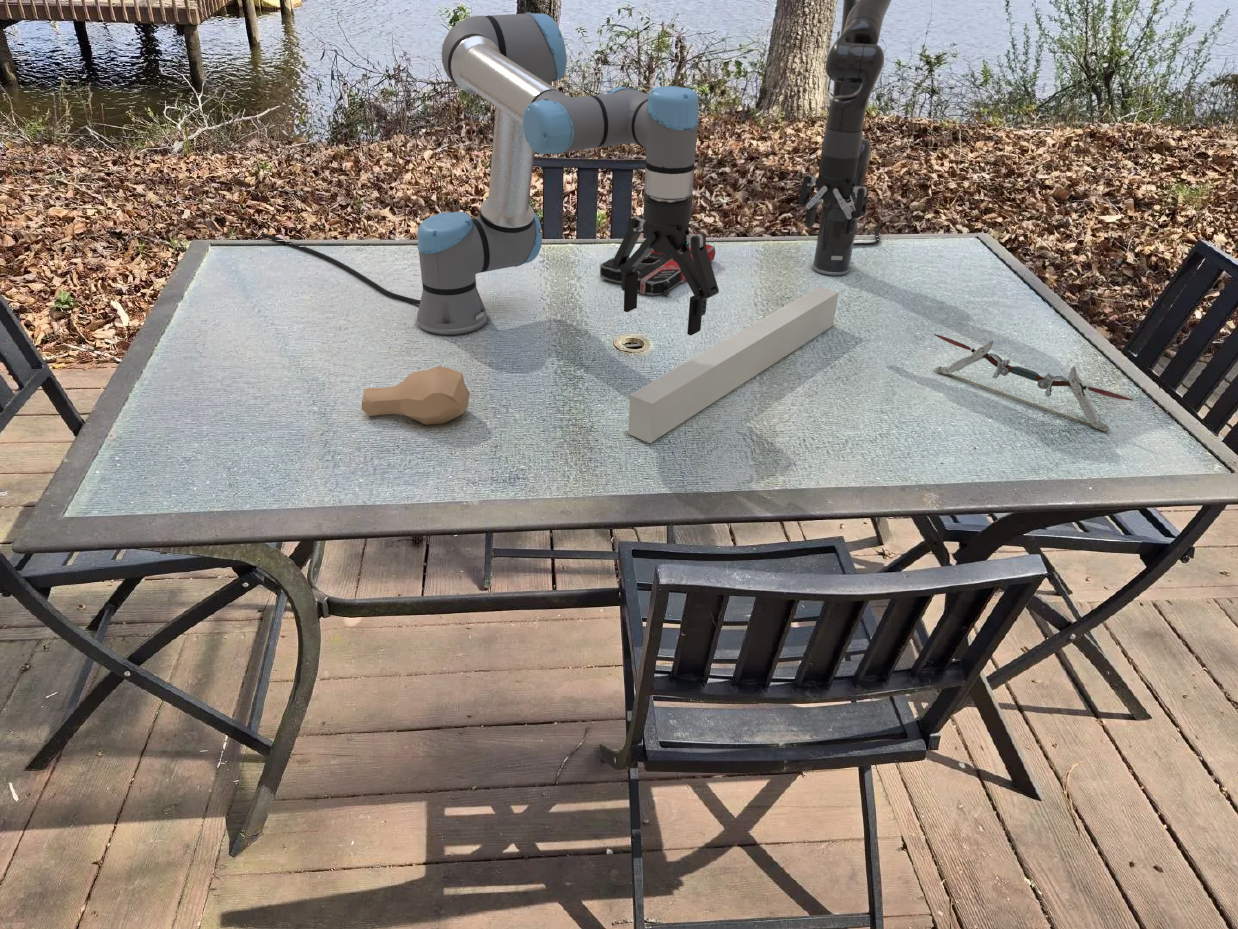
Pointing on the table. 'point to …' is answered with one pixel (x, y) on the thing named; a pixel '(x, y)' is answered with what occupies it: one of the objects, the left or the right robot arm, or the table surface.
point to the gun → (653, 272)
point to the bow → (1043, 382)
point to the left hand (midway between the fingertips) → (661, 320)
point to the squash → (421, 397)
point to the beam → (728, 365)
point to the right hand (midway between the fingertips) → (827, 230)
